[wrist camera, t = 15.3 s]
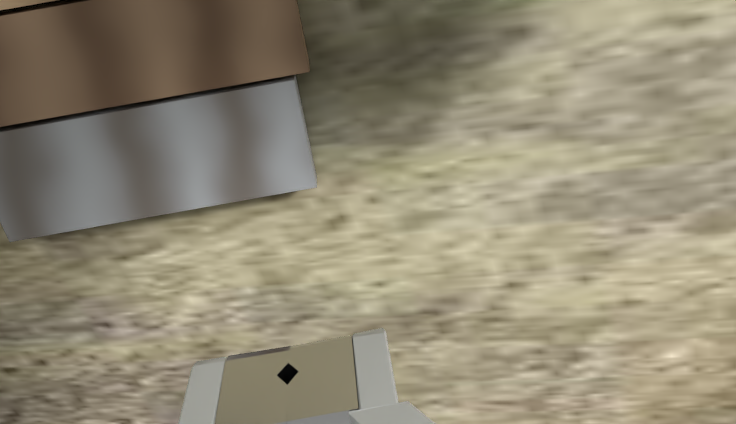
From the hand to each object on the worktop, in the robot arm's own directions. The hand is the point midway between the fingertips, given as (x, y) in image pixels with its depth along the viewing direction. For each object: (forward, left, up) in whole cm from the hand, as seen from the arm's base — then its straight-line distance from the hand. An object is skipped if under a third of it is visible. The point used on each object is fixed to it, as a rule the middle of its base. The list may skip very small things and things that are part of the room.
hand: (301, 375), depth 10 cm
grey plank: (+13, -3, -31) cm, 33 cm away
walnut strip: (+8, -8, -31) cm, 33 cm away
